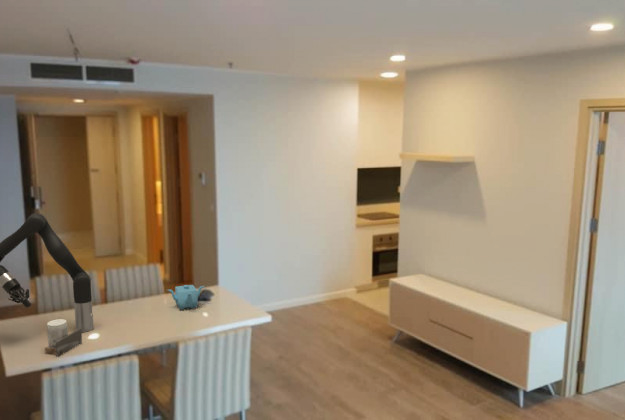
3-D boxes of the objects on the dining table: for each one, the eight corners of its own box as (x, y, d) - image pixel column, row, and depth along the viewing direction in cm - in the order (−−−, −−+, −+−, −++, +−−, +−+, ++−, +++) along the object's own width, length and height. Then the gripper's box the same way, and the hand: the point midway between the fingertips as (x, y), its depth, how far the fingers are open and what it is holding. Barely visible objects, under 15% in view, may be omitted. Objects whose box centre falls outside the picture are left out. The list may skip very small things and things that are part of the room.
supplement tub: (64, 343, 282) (63, 317, 280) (71, 348, 276) (70, 322, 273) (45, 348, 275) (44, 321, 273) (52, 353, 269) (50, 326, 266)
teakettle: (182, 300, 355) (182, 280, 353) (206, 304, 349) (206, 283, 346) (166, 309, 337) (165, 287, 335) (190, 313, 331) (190, 291, 329)
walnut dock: (43, 354, 268) (42, 339, 266) (67, 341, 285) (67, 327, 284) (58, 356, 265) (57, 342, 264) (82, 343, 283) (81, 329, 281)
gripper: (2, 281, 272) (23, 306, 271) (21, 275, 285) (42, 298, 284) (-6, 290, 274) (15, 314, 273) (14, 283, 287) (34, 306, 286)
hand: (29, 306), depth 278 cm, fingers closed
